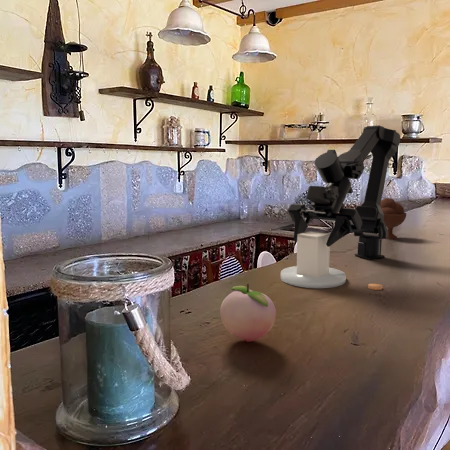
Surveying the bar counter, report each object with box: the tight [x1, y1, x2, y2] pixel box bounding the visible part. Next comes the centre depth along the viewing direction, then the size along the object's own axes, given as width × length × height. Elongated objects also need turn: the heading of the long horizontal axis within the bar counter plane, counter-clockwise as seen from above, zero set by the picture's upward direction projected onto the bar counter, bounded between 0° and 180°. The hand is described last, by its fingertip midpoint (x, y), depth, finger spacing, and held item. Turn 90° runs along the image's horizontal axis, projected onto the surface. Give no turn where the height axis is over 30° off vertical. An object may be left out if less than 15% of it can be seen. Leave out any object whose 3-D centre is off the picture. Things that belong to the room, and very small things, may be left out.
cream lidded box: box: [296, 230, 331, 278], centre depth 111 cm, size 6×6×10 cm
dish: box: [280, 265, 347, 289], centre depth 112 cm, size 16×16×2 cm
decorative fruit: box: [219, 283, 277, 343], centre depth 74 cm, size 9×8×10 cm
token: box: [367, 283, 383, 291], centre depth 105 cm, size 3×3×1 cm
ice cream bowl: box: [380, 197, 407, 240], centre depth 167 cm, size 11×11×15 cm
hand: (310, 243), depth 110 cm, fingers open, 9 cm apart
